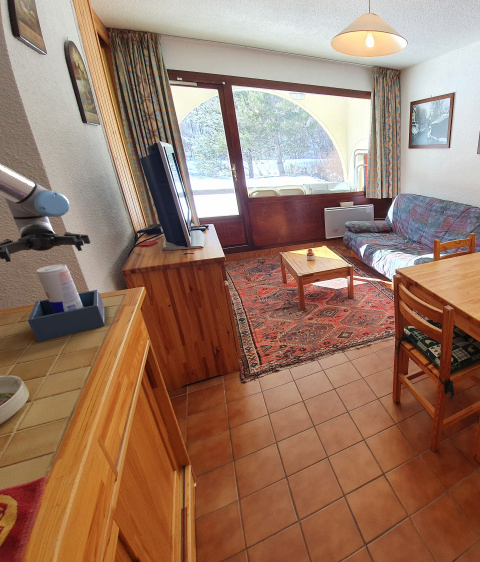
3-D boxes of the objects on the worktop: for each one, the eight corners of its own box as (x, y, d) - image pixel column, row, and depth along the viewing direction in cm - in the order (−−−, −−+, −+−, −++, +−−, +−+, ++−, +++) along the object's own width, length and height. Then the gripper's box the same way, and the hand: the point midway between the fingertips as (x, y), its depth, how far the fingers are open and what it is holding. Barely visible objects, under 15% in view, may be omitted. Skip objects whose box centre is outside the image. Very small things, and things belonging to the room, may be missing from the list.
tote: (37, 342, 75) (27, 320, 72) (44, 321, 84) (35, 301, 81) (104, 325, 82) (97, 305, 80) (104, 307, 91) (97, 289, 89)
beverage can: (86, 312, 86) (66, 262, 80) (88, 320, 83) (67, 267, 77) (58, 319, 83) (35, 267, 77) (59, 327, 79) (35, 273, 73)
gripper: (95, 241, 105) (108, 254, 92) (-19, 257, 88) (-23, 276, 75) (87, 219, 102) (100, 229, 89) (-32, 231, 85) (-38, 246, 72)
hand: (44, 251), depth 82 cm, fingers open, 13 cm apart
